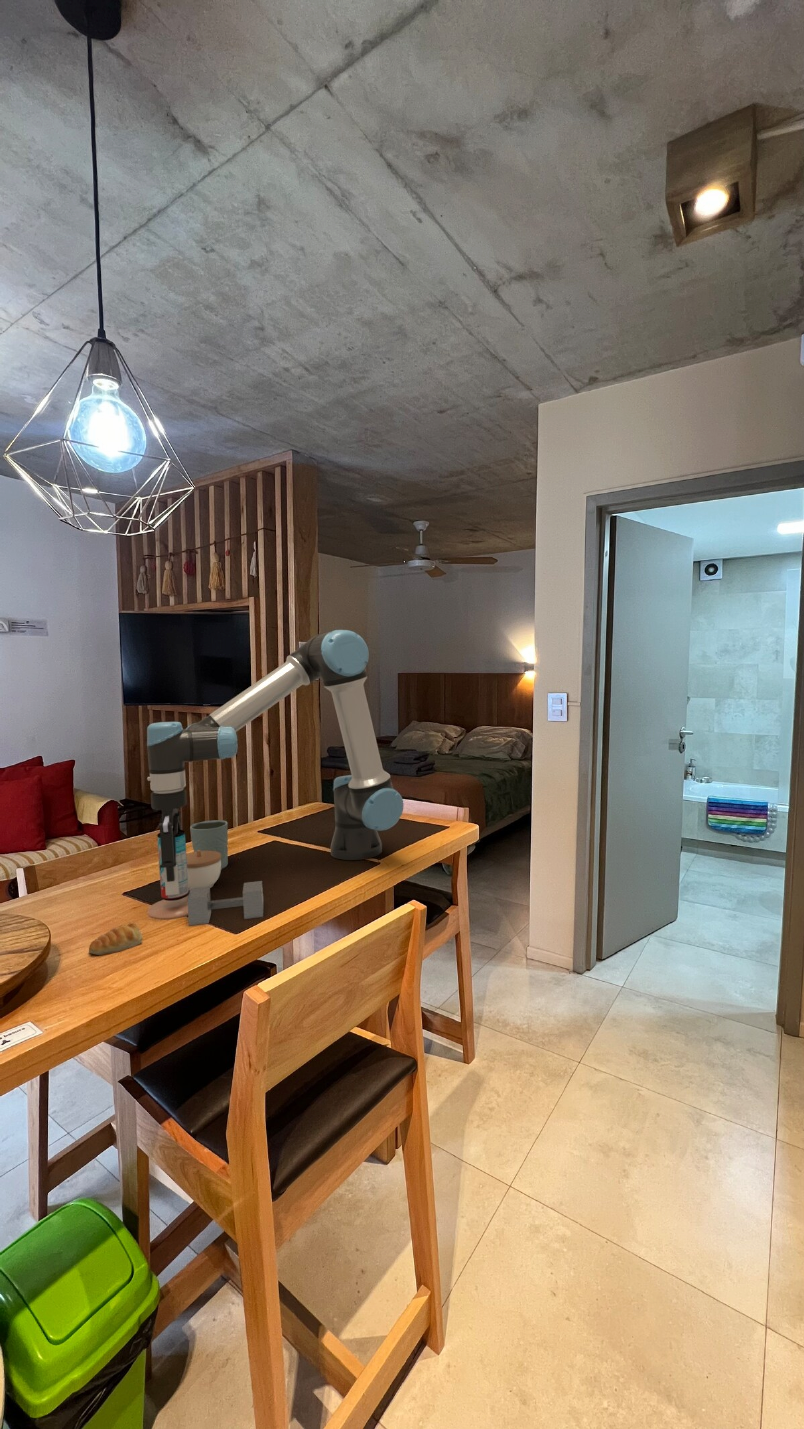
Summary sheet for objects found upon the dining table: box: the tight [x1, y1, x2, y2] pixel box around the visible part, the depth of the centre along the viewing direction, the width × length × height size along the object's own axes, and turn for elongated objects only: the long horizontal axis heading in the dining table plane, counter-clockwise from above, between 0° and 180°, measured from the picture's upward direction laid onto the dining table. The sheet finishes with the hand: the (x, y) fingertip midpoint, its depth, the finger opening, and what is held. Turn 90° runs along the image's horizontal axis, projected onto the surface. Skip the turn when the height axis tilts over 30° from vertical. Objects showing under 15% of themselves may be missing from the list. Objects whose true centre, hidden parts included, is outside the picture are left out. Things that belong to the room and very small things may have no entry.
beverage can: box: [156, 829, 190, 901], centre depth 135 cm, size 6×6×15 cm
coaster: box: [147, 895, 188, 920], centre depth 136 cm, size 12×12×1 cm
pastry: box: [88, 922, 144, 956], centre depth 117 cm, size 9×7×4 cm
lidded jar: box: [186, 850, 222, 891], centre depth 149 cm, size 11×11×9 cm
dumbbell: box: [187, 880, 264, 926], centre depth 132 cm, size 16×9×6 cm, turn 102°
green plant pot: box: [189, 819, 229, 870], centre depth 165 cm, size 10×10×12 cm
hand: (174, 888), depth 135 cm, fingers closed on beverage can, 6 cm apart
